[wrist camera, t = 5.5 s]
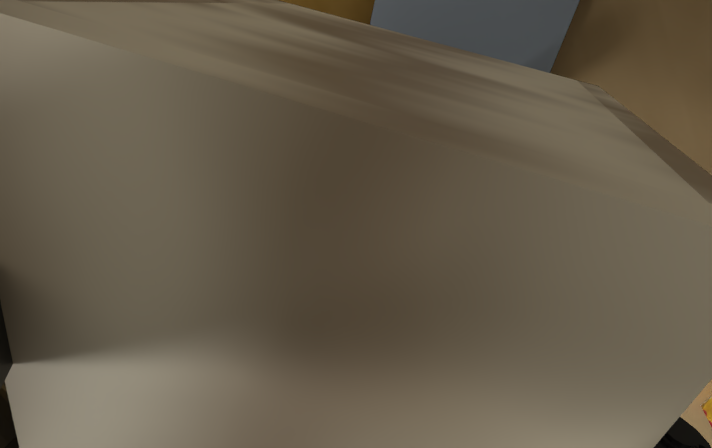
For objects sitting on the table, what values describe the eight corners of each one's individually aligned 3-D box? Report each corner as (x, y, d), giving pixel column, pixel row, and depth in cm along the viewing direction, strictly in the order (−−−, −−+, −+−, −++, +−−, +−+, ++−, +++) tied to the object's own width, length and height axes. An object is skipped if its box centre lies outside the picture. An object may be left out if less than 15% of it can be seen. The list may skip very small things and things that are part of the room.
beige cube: (241, 260, 19) (25, 477, 10) (272, -1, 14) (-81, -12, 5) (477, 345, 18) (458, 679, 9) (597, 86, 13) (815, 256, 4)
